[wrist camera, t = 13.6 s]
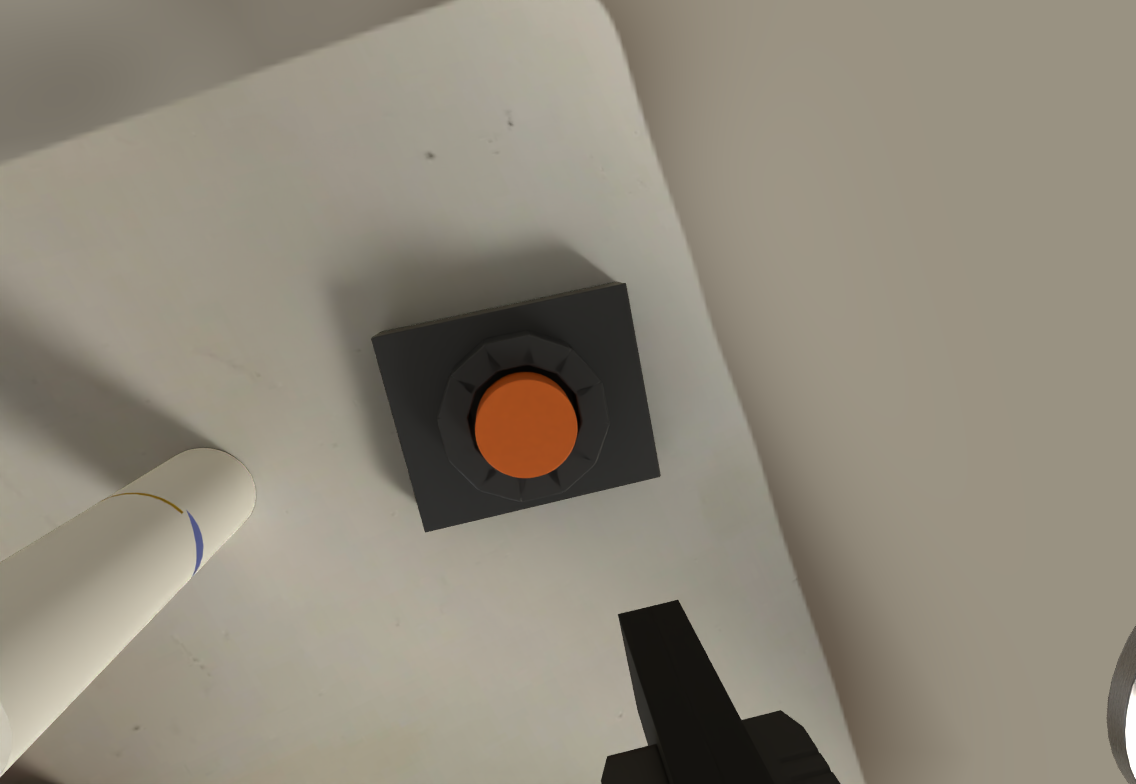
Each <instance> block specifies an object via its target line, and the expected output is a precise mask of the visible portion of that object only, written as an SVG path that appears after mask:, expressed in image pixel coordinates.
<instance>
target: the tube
mask: <svg viewBox="0 0 1136 784" xmlns="http://www.w3.org/2000/svg"><path fill="white" fill-rule="evenodd" d="M255 501H256V489H255V484H254V481H253V479H252V476H251V475H250V473H249V471H248V470H247V468H246V467H245V466H244V465H243V464H242V463H241V462H240V461H239V460H237V459H236V458H235V457H233V456H231V455H229V454H228V453H226V452H223V451H220V450H217V449H210V448H195V449H191V450H187V451H184V452H182V453H180V454H177V455H176V456H174V457H173V458H171V459H169V460H168V461H166V462H164V463H163V464H161V465H159V466H158V467H156V468H154V469H153V470H151V471H150V472H148V473H146V474H145V475H143V476H141V477H140V478H138V479H136V480H135V481H133V482H132V483H130V484H128V485H127V486H125V487H123V488H122V489H120V490H118V491H117V492H115V493H113V494H112V495H110V496H109V497H107V498H105V499H104V500H102V501H101V502H99V503H97V504H95V505H94V506H92V507H91V508H89V509H87V510H86V511H84V512H82V513H81V514H79V515H77V516H76V517H74V518H73V519H71V520H69V521H68V522H66V523H64V524H63V525H61V526H59V527H58V528H56V529H54V530H53V531H51V532H50V533H48V534H46V535H45V536H43V537H41V538H40V539H38V540H36V541H35V542H33V543H31V544H30V545H28V546H27V547H25V548H23V549H22V550H20V551H18V552H17V553H15V554H13V555H12V556H10V557H9V558H7V559H5V560H4V561H2V562H0V777H1V776H2V775H3V774H4V773H5V772H6V771H7V770H8V769H9V768H10V767H11V765H12V764H13V763H14V762H15V761H16V760H17V759H18V758H19V757H20V756H21V755H22V754H23V753H24V752H25V751H26V750H27V749H28V748H29V747H30V746H31V745H32V744H33V743H34V741H35V740H36V739H37V738H38V737H39V736H40V735H41V734H42V733H43V732H44V731H45V730H46V729H47V728H48V727H49V726H50V725H51V724H52V723H53V722H54V721H55V720H56V719H57V717H58V716H59V715H60V714H61V713H62V712H63V711H64V710H65V709H66V708H67V707H68V706H69V705H70V704H71V703H72V702H73V701H74V700H75V699H76V698H77V697H78V696H79V695H80V694H81V692H82V691H83V690H84V689H85V688H86V687H87V686H88V685H89V684H90V683H91V682H92V681H93V680H94V679H95V678H96V677H97V676H98V675H99V674H100V673H101V672H102V671H103V670H104V668H105V667H106V666H107V665H108V664H109V663H110V662H111V661H112V660H113V659H114V658H115V657H116V656H117V655H118V654H119V653H120V652H121V651H122V650H123V649H124V648H125V647H126V646H127V645H128V643H129V642H130V641H131V640H132V639H133V638H134V637H135V636H136V635H137V634H138V633H139V632H140V631H141V630H142V629H143V628H144V627H145V626H146V625H147V624H148V623H149V622H150V621H151V619H152V618H153V617H154V616H155V615H156V614H157V613H158V612H159V611H160V610H161V609H162V608H163V607H164V606H165V605H166V604H167V603H168V602H169V601H170V600H171V599H172V598H173V597H174V595H175V594H176V593H177V592H178V591H179V590H180V589H181V588H182V587H183V586H184V585H185V584H186V583H187V582H188V581H189V580H190V579H191V578H192V577H193V576H194V575H195V574H196V573H197V571H198V570H199V569H200V568H201V567H202V566H203V565H204V564H205V563H206V562H207V561H208V560H209V559H210V558H211V557H212V556H213V555H214V554H215V553H216V552H217V551H218V549H219V548H220V547H221V546H222V545H223V544H224V543H225V542H226V541H227V540H228V539H229V538H230V537H231V536H232V535H233V534H234V533H235V532H236V531H237V530H238V529H239V527H240V526H241V525H242V524H243V523H244V522H245V521H246V520H247V519H248V518H249V516H250V515H251V513H252V511H253V508H254V505H255Z"/></svg>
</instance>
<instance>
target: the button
mask: <svg viewBox="0 0 1136 784" xmlns="http://www.w3.org/2000/svg"><path fill="white" fill-rule="evenodd" d="M475 437H476V442H477V445H478V448H479V450H480V452H481V454H482V455H483V457H484V458H485V459H486V461H487V462H488V463H489V464H490V465H491V466H493V467H494V468H495V469H497V470H498V471H500V472H502V473H504V474H506V475H509V476H512V477H517V478H533V477H538V476H542V475H545V474H547V473H549V472H551V471H553V470H554V469H556V468H557V467H558V466H560V465H561V464H562V463H563V462H564V461H565V460H566V458H567V457H568V456H569V454H570V453H571V451H572V449H573V447H574V444H575V441H576V438H577V418H576V414H575V411H574V409H573V406H572V405H571V403H570V401H569V399H568V397H567V395H566V394H565V392H564V391H563V389H562V388H561V387H560V386H559V385H558V384H557V383H556V382H554V381H553V380H552V379H550V378H548V377H546V376H544V375H541V374H538V373H534V372H517V373H512V374H509V375H506V376H504V377H502V378H500V379H498V380H497V381H495V382H494V383H493V384H492V385H491V386H490V387H489V388H488V389H487V390H486V391H485V393H484V394H483V396H482V398H481V400H480V402H479V405H478V409H477V414H476V422H475Z"/></svg>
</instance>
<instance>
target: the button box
mask: <svg viewBox="0 0 1136 784" xmlns="http://www.w3.org/2000/svg"><path fill="white" fill-rule="evenodd" d="M371 340H372V343H373V347H374V350H375V354H376V358H377V361H378V365H379V368H380V372H381V375H382V379H383V383H384V386H385V390H386V393H387V397H388V401H389V404H390V408H391V411H392V415H393V419H394V422H395V426H396V429H397V433H398V437H399V440H400V444H401V447H402V451H403V455H404V458H405V462H406V465H407V469H408V473H409V476H410V480H411V483H412V487H413V491H414V494H415V498H416V501H417V505H418V509H419V512H420V516H421V519H422V523H423V527H424V530H425V532H429V531H433V530H438V529H442V528H446V527H450V526H454V525H459V524H463V523H467V522H471V521H476V520H480V519H484V518H488V517H492V516H497V515H501V514H505V513H509V512H513V511H518V510H522V509H526V508H530V507H534V506H539V505H543V504H547V503H551V502H556V501H560V500H564V499H568V498H572V497H577V496H581V495H585V494H589V493H593V492H598V491H602V490H606V489H610V488H614V487H619V486H623V485H627V484H631V483H636V482H640V481H644V480H648V479H652V478H657V477H660V476H661V475H660V470H659V464H658V459H657V453H656V448H655V442H654V437H653V431H652V425H651V420H650V414H649V409H648V403H647V398H646V392H645V387H644V381H643V375H642V370H641V364H640V359H639V353H638V348H637V342H636V336H635V331H634V325H633V320H632V314H631V309H630V303H629V298H628V292H627V286H626V283H621V282H612V283H607V284H602V285H598V286H593V287H588V288H584V289H579V290H574V291H570V292H565V293H560V294H556V295H551V296H546V297H542V298H537V299H532V300H528V301H523V302H518V303H514V304H509V305H504V306H500V307H495V308H490V309H486V310H481V311H476V312H472V313H467V314H462V315H458V316H453V317H448V318H444V319H439V320H434V321H430V322H425V323H420V324H416V325H411V326H406V327H402V328H397V329H392V330H388V331H383V332H380V333H379V334H377V335H375V336H374V337H372V338H371ZM517 372H534V373H538V374H541V375H544V376H546V377H548V378H550V379H552V380H553V381H554V382H556V383H557V384H558V385H559V386H560V387H561V388H562V389H563V391H564V392H565V394H566V395H567V397H568V399H569V401H570V403H571V405H572V406H573V409H574V411H575V414H576V418H577V438H576V441H575V444H574V447H573V449H572V451H571V453H570V454H569V456H568V457H567V458H566V460H565V461H564V462H563V463H562V464H561V465H560V466H558V467H557V468H556V469H554V470H553V471H551V472H549V473H547V474H545V475H542V476H538V477H533V478H517V477H512V476H509V475H506V474H504V473H502V472H500V471H498V470H497V469H495V468H494V467H493V466H491V465H490V464H489V463H488V462H487V461H486V459H485V458H484V457H483V455H482V454H481V452H480V450H479V448H478V445H477V442H476V437H475V422H476V414H477V409H478V405H479V402H480V400H481V398H482V396H483V394H484V393H485V391H486V390H487V389H488V388H489V387H490V386H491V385H492V384H493V383H494V382H495V381H497V380H498V379H500V378H502V377H504V376H506V375H509V374H512V373H517Z"/></svg>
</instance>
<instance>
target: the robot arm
mask: <svg viewBox="0 0 1136 784" xmlns="http://www.w3.org/2000/svg"><path fill="white" fill-rule="evenodd" d="M618 616H619V621H620V626H621V631H622V636H623V641H624V646H625V651H626V656H627V661H628V665H629V670H630V675H631V680H632V685H633V690H634V695H635V700H636V705H637V710H638V713H639V716H640V720H641V723H642V726H643V730H644V733H645V736H646V740H647V743H648V746H646V747H642V748H638V749H634V750H630V751H626V752H622V753H618V754H614V755H610V756H607V759H606V763H605V767H604V771H603V775H602V779H601V783H602V784H840V782H839V781H838V779H837V778H836V776H835V775H834V773H833V772H831V770H830V767H829V765H828V764H827V762H826V761H825V759H824V758H823V756H822V755H821V753H819V752H818V749H817V747H816V746H815V744H814V743H813V741H812V739H811V738H810V736H809V735H808V733H807V732H806V730H805V729H804V727H803V726H802V725H800V724H799V723H797V722H796V721H795V720H793V719H792V718H791V717H789V716H788V715H786V714H785V713H784V712H782V711H781V710H780V711H776V712H772V713H768V714H764V715H760V716H756V717H752V718H748V719H745V720H741V719H740V717H739V715H738V713H737V711H736V709H735V707H734V705H733V703H732V702H731V700H730V698H729V696H728V694H727V692H726V690H725V688H724V686H723V684H722V682H721V681H720V679H719V677H718V675H717V673H716V671H715V669H714V667H713V665H712V663H711V662H710V660H709V658H708V656H707V654H706V652H705V650H704V648H703V646H702V644H701V642H700V641H699V639H698V637H697V635H696V633H695V631H694V629H693V627H692V625H691V623H690V622H689V620H688V618H687V616H686V614H685V612H684V610H683V608H682V606H681V604H680V603H679V601H678V600H675V601H671V602H667V603H663V604H659V605H654V606H650V607H646V608H642V609H638V610H634V611H630V612H625V613H621V614H618Z"/></svg>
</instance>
